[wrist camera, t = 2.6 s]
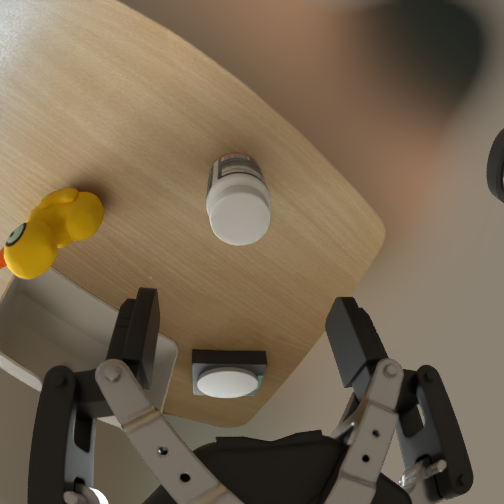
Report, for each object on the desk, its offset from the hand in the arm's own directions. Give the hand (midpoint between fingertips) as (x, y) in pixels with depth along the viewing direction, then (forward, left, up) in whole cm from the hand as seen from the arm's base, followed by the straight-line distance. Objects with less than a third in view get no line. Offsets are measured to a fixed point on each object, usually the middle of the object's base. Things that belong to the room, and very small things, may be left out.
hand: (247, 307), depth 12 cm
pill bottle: (0, 0, -16) cm, 16 cm away
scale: (-2, +32, -16) cm, 36 cm away
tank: (+20, +24, -16) cm, 35 cm away
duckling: (+17, +4, -16) cm, 24 cm away
